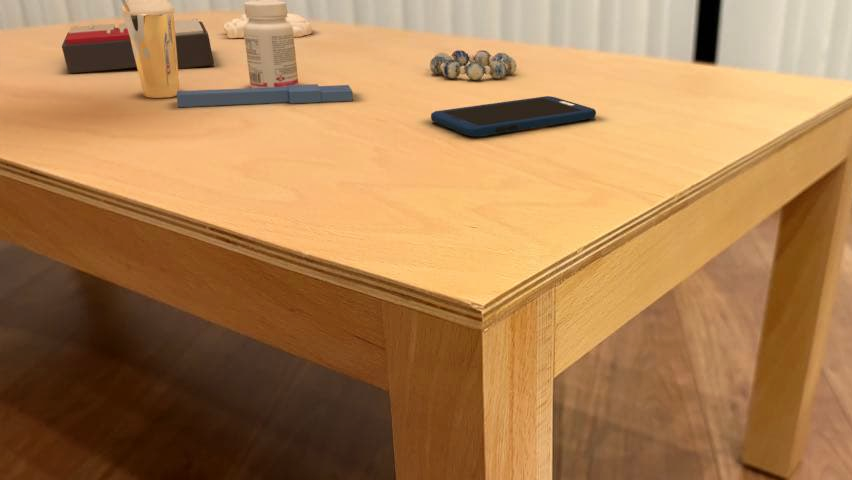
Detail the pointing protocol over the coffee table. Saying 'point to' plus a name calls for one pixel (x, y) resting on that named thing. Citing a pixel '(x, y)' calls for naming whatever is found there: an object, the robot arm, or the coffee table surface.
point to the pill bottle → (269, 45)
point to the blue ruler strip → (265, 95)
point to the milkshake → (153, 45)
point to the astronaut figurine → (297, 22)
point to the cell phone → (512, 115)
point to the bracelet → (472, 64)
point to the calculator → (130, 47)
